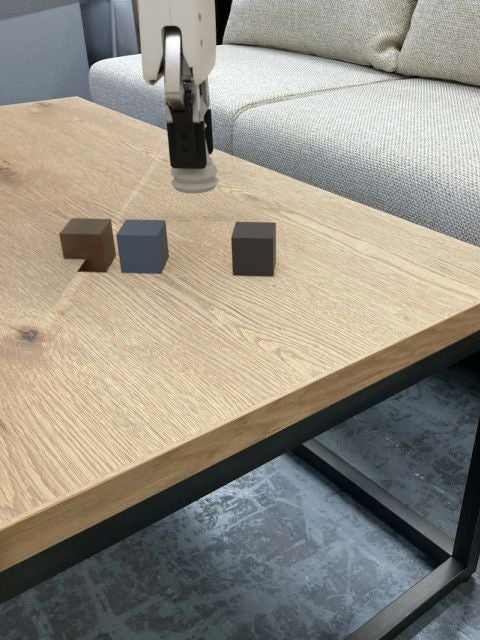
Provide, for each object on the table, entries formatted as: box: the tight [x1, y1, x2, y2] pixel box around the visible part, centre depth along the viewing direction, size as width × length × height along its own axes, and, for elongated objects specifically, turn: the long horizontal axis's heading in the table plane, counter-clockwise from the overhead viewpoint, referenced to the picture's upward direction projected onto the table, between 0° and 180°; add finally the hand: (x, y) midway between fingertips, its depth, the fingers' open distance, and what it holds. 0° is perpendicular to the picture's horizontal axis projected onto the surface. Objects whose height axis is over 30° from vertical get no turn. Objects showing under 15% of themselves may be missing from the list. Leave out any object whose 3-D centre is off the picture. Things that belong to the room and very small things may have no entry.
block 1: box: [58, 217, 117, 273], centre depth 69 cm, size 4×4×4 cm
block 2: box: [115, 218, 170, 275], centre depth 69 cm, size 4×4×4 cm
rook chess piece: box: [170, 95, 220, 195], centre depth 63 cm, size 4×4×8 cm
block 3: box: [230, 221, 277, 277], centre depth 69 cm, size 4×4×4 cm
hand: (192, 158), depth 64 cm, fingers closed on rook chess piece, 3 cm apart
